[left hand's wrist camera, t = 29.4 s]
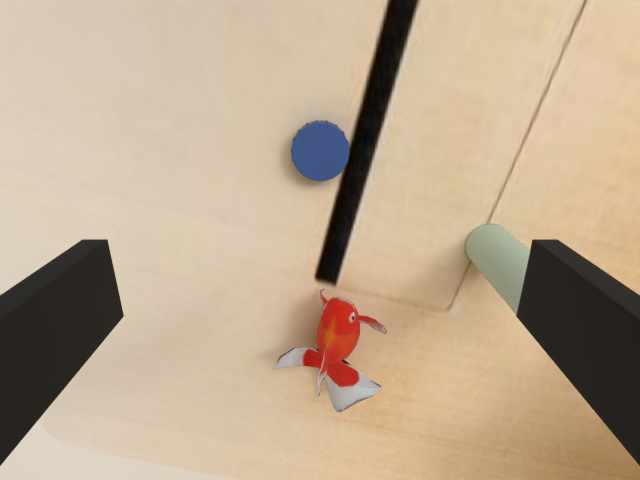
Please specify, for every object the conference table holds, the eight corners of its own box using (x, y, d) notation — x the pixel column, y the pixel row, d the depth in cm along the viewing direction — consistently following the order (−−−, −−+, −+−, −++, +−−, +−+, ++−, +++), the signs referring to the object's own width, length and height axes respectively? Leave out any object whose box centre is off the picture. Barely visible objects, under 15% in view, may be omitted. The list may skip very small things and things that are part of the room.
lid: (292, 118, 37) (291, 120, 35) (350, 121, 37) (352, 123, 35) (291, 175, 39) (290, 180, 37) (346, 177, 39) (347, 182, 37)
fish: (433, 313, 39) (400, 400, 32) (373, 377, 50) (339, 451, 43) (339, 255, 40) (288, 326, 33) (300, 329, 51) (257, 394, 45)
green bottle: (482, 272, 42) (569, 375, 28) (456, 244, 41) (531, 337, 27) (518, 244, 41) (628, 336, 26) (492, 215, 40) (592, 294, 25)
